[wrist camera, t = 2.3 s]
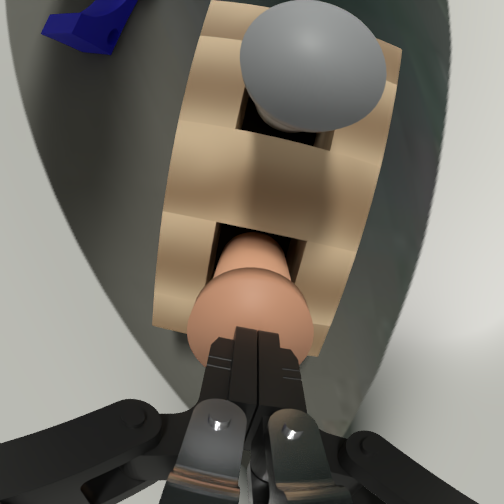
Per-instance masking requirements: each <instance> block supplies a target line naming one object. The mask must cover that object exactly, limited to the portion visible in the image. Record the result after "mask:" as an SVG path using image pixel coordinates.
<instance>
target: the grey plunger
mask: <svg viewBox="0 0 504 504" xmlns="http://www.w3.org/2000/svg"><path fill="white" fill-rule="evenodd" d="M240 66H241V72H242V77H243V81H244V84H245V87H246V89H247V92H248V94H249V95H250V97H251V99H252V100H253V102H254V103H255V106H256V109H257V112H258V114H259V115H260V117H261V118H262V119H263V121H264V122H265V123H267V124H268V125H269V126H271V127H272V128H274V129H276V130H279V131H282V132H287V133H297V132H302V131H304V132H314V133H315V132H326V131H332V130H336V129H340V128H343V127H347V126H350V125H352V124H354V123H356V122H358V121H360V120H361V119H363V118H364V117H366V116H367V115H368V114H369V113H370V112H371V111H372V110H373V109H374V108H375V107H376V105H377V104H378V102H379V100H380V99H381V97H382V94H383V92H384V88H385V84H386V75H387V73H386V63H385V58H384V55H383V52H382V49H381V47H380V45H379V43H378V41H377V40H376V38H375V37H374V35H373V34H372V32H371V31H370V30H369V29H368V28H367V27H366V26H365V25H364V24H363V23H362V22H361V21H360V20H359V19H357V18H356V17H355V16H354V15H352V14H350V13H349V12H347V11H345V10H343V9H341V8H339V7H337V6H334V5H331V4H329V3H325V2H320V1H313V0H296V1H289V2H285V3H281V4H279V5H276V6H273V7H272V8H270V9H268V10H266V11H265V12H263V13H262V14H260V15H259V16H258V17H257V18H256V19H255V20H254V21H253V22H252V23H251V25H250V26H249V27H248V29H247V31H246V33H245V35H244V37H243V40H242V43H241V48H240Z"/></svg>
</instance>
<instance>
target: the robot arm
mask: <svg viewBox="0 0 504 504" xmlns="http://www.w3.org/2000/svg"><path fill="white" fill-rule="evenodd" d="M299 371H300V368H299V363H298V359H297V357H296V356H295V355H294V353H293V352H292V351H291V349H285V348H280V340H279V334H278V333H273V332H267V331H261V330H258V331H257V330H255V329H250V328H245V327H239V326H236V328H235V333H234V337H233V340H232V339H227V338H222V337H218V338H217V339H216V340H215V341H214V342H213V343H212V344H211V347H210V351H209V356H208V360H207V365H206V369H205V374H204V378H203V383H202V388H201V392H200V397H199V400H198V402H197V403H196V405H195V406H194V407H192V408H191V409H189V410H188V411H185V412H182V413H176V414H159V413H158V411H157V410H156V409H155V408H154V407H153V406H151V405H150V404H148V403H146V402H144V401H141V400H136V399H125V400H121V401H118V402H116V403H113V404H111V405H108V406H106V407H104V408H101V409H98V410H96V411H93V412H91V413H88V414H86V415H83V416H81V417H78V418H76V419H73V420H70V421H68V422H65V423H62V424H59V425H57V426H53V427H51V428H48V429H45V430H42V431H39V432H36V433H33V434H30V435H27V436H24V437H20V438H17V439H14V440H11V441H7V442H4V443H0V504H116V503H118V502H120V501H122V500H124V499H126V498H128V497H130V496H132V495H134V494H136V493H138V492H139V491H141V490H143V489H145V488H147V487H148V486H150V485H152V484H154V483H155V482H157V481H158V480H167V481H166V484H165V487H164V490H163V493H162V496H161V499H160V501H159V504H238V503H239V495H240V488H239V486H238V479H239V472H240V466H241V459H242V452H243V450H249V451H251V461H250V463H249V465H248V467H247V482H248V495H249V496H248V497H249V504H478V503H477V502H475V501H474V500H472V499H470V498H469V497H467V496H466V495H464V494H462V493H461V492H459V491H458V490H456V489H455V488H453V487H452V486H450V485H449V484H447V483H446V482H444V481H443V480H441V479H440V478H438V477H437V476H435V475H434V474H432V473H431V472H430V471H428V470H427V469H425V468H424V467H422V466H421V465H420V464H418V463H417V462H415V461H414V460H412V459H411V458H410V457H408V456H407V455H406V454H404V453H403V452H402V451H400V450H399V449H397V448H396V447H395V446H393V445H392V444H391V443H389V442H388V441H387V440H385V439H384V438H383V437H381V436H380V435H378V434H376V433H374V432H371V431H358V432H355V433H353V434H352V435H351V436H350V437H349V438H348V439H346V438H342V437H339V436H335V435H332V434H328V433H326V432H324V431H322V430H320V429H319V428H318V425H317V423H316V422H315V420H314V419H313V418H312V417H311V416H310V415H308V414H307V410H306V404H305V398H304V392H303V386H302V381H301V374H300V372H299ZM369 490H370V491H369ZM378 497H379V498H378ZM382 500H383V501H382Z"/></svg>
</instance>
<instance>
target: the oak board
mask: <svg viewBox="0 0 504 504" xmlns="http://www.w3.org/2000/svg"><path fill="white" fill-rule="evenodd" d="M268 9H270V8H268V7H262V6H256V5H250V4H242V3H234V2H225V1H213V0H211V3H210V6H209V9H208V12H207V15H206V18H205V21H204V24H203V28H202V31H201V34H200V38H199V41H198V45H197V48H196V52H195V55H194V59H193V63H192V66H191V70H190V74H189V78H188V82H187V86H186V90H185V94H184V99H183V103H182V107H181V112H180V116H179V121H178V126H177V131H176V136H175V141H174V146H173V151H172V157H171V162H170V168H169V174H168V180H167V187H166V193H165V200H164V207H163V214H162V222H161V230H160V238H159V247H158V257H157V267H156V278H155V291H154V305H153V323H152V325H153V326H157V327H161V328H165V329H169V330H173V331H177V332H181V333H186V334H187V324H188V320H189V317H190V314H191V311H192V309H193V306H194V304H195V301H196V298H197V296H198V295H199V293H200V291H201V290H202V289H203V287H204V286H205V285H206V284H207V283H208V282H209V281H211V280H212V279H213V277H214V274H215V271H213V270H214V264H215V259H216V253H217V248H218V242H219V237H220V232H221V226H222V223H225V224H230V225H234V226H239V227H244V228H249V229H254V230H258V231H263V232H268V233H273V234H277V235H282V236H286V237H291V241H290V244H289V248H288V252H287V256H286V262H287V266H288V270H289V274H290V278H291V281H292V282H293V283H294V284H295V285H296V286H297V287H298V288H299V290H300V291H301V292H302V294H303V296H304V298H305V300H306V302H307V305H308V308H309V312H310V315H311V318H312V322H313V327H314V337H313V343H312V346H311V349H310V351H309V353H308V355H309V356H317V357H318V355H319V352H320V350H321V347H322V345H323V343H324V340H325V338H326V335H327V333H328V330H329V328H330V325H331V323H332V320H333V318H334V315H335V312H336V310H337V307H338V304H339V302H340V299H341V296H342V293H343V291H344V288H345V285H346V282H347V279H348V276H349V274H350V271H351V268H352V265H353V262H354V259H355V256H356V252H357V249H358V246H359V243H360V240H361V237H362V233H363V230H364V227H365V223H366V220H367V216H368V213H369V209H370V206H371V202H372V199H373V195H374V191H375V187H376V183H377V180H378V176H379V171H380V167H381V163H382V159H383V155H384V150H385V146H386V141H387V137H388V132H389V127H390V122H391V117H392V111H393V106H394V100H395V94H396V88H397V82H398V75H399V68H400V61H401V53H402V49H400V48H398V47H396V46H393V45H391V44H389V43H386V42H384V41H382V40H379V39H377V38H376V40H377V41H378V43H379V45H380V47H381V49H382V52H383V55H384V58H385V63H386V73H387V75H386V84H385V88H384V92H383V94H382V97H381V99H380V100H379V102H378V104H377V105H376V107H375V108H374V109H373V110H372V111H371V112H370V113H369V114H368V115H367V116H366V117H364V118H363V119H361V120H360V121H358V122H356V123H354V124H352V125H350V126H347V127H343V128H340V129H336V130H332V131H326V132H317V134H316V138H315V143H314V147H313V146H309V145H305V144H302V143H298V142H294V141H289V140H285V139H281V138H277V137H272V136H268V135H263V134H258V133H254V132H249V131H244V130H241V129H242V125H243V120H244V116H245V111H246V107H247V103H248V98H249V94H248V92H247V89H246V87H245V84H244V81H243V77H242V72H241V66H240V48H241V43H242V40H243V37H244V35H245V33H246V31H247V29H248V27H249V26H250V25H251V23H252V22H253V21H254V20H255V19H256V18H257V17H258V16H259V15H260V14H262V13H263V12H265V11H266V10H268Z"/></svg>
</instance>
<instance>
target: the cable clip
mask: <svg viewBox="0 0 504 504" xmlns="http://www.w3.org/2000/svg"><path fill="white" fill-rule="evenodd" d="M137 1H138V0H95V1H94V2H93V3H92V4H91V5H90V6H89V7H88V8H86V9H85V10H83V11H82V12H80V13H65V14H51V15H50V16H49V18H48V20H47V22H46V24H45V26H44V28H43V30H42V32H41V34H42V35H45V36H47V37H49V38H52V39H54V40H57V41H59V42H61V43H63V44H66V45H68V46H70V47H72V48H75V49H77V50H79V51H81V52H87V53H98V54H107V55H111V54H112V52H113V49H114V47H115V45H116V43H117V40H118V38H119V36H120V34H121V32H122V30H123V28H124V26H125V24H126V22H127V20H128V18H129V16H130V14H131V12H132V10H133V8H134V6H135V4H136V3H137Z"/></svg>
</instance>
